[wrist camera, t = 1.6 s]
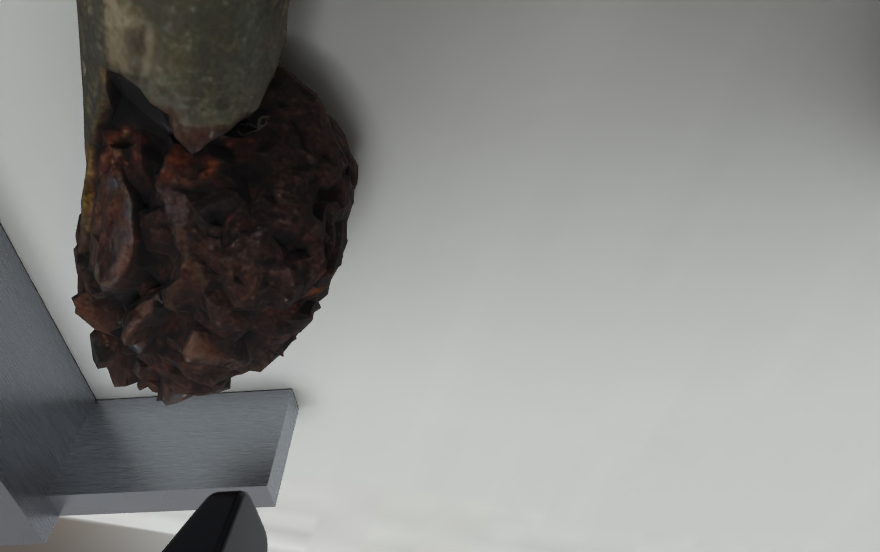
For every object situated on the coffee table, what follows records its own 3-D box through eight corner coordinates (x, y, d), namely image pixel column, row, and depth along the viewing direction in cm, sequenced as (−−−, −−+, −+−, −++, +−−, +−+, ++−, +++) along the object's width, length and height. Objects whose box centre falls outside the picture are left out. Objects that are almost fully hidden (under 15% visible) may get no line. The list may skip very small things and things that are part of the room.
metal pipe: (100, -454, 14) (-70, -520, 10) (464, -343, 15) (465, -355, 10) (114, 294, 24) (36, 431, 20) (327, 335, 25) (298, 475, 21)
